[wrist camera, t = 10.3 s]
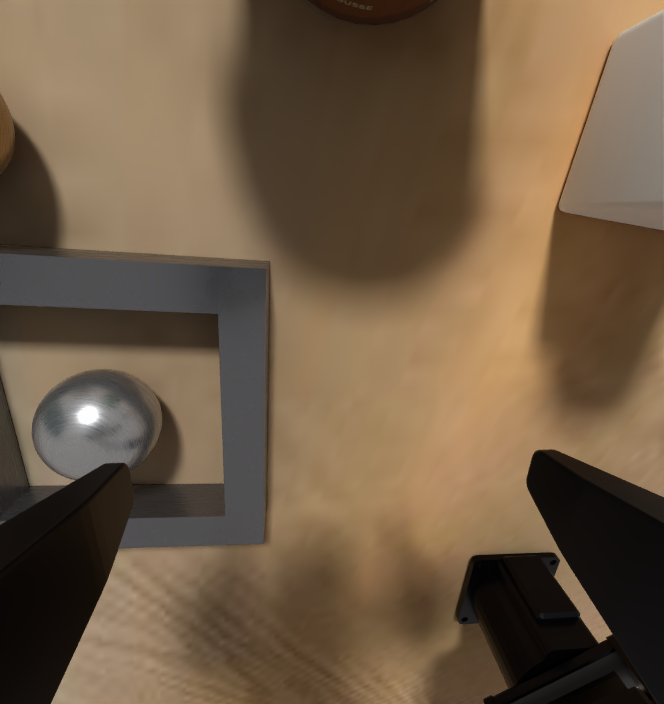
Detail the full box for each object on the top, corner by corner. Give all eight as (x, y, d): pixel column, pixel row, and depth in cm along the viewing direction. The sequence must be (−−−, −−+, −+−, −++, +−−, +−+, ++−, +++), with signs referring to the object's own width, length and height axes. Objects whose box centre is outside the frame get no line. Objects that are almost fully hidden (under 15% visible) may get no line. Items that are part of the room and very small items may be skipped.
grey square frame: (266, 509, 23) (263, 543, 20) (-3, 515, 21) (-39, 553, 19) (269, 261, 17) (266, 268, 15) (-88, 239, 16) (-154, 244, 13)
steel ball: (176, 437, 20) (149, 504, 16) (77, 440, 20) (18, 510, 15) (169, 353, 19) (136, 400, 14) (60, 352, 18) (-13, 401, 13)
